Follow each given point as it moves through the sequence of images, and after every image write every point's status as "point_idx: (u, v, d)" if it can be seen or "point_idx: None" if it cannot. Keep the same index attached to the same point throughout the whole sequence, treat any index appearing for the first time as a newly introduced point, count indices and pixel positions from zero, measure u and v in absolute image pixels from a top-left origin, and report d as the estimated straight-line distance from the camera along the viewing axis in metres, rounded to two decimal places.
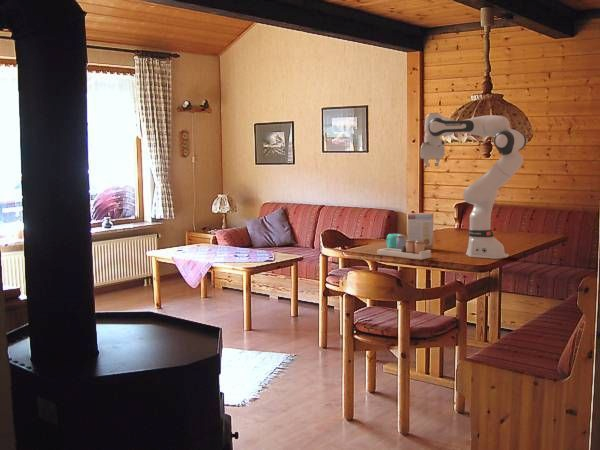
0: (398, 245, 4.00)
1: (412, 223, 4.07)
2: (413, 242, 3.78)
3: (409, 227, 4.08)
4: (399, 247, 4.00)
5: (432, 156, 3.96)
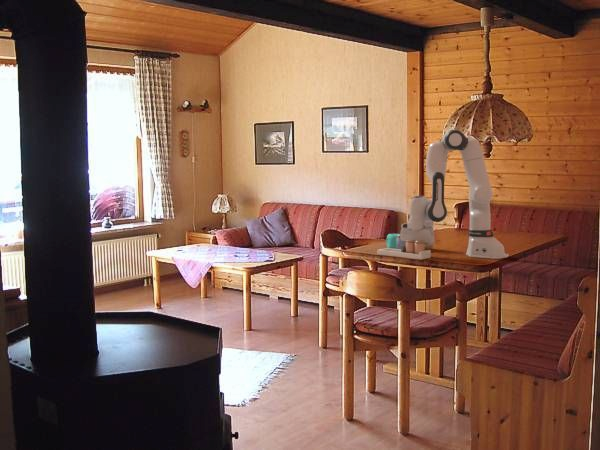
0: (398, 245, 4.00)
1: None
2: (413, 242, 3.78)
3: None
4: (399, 247, 4.00)
5: None
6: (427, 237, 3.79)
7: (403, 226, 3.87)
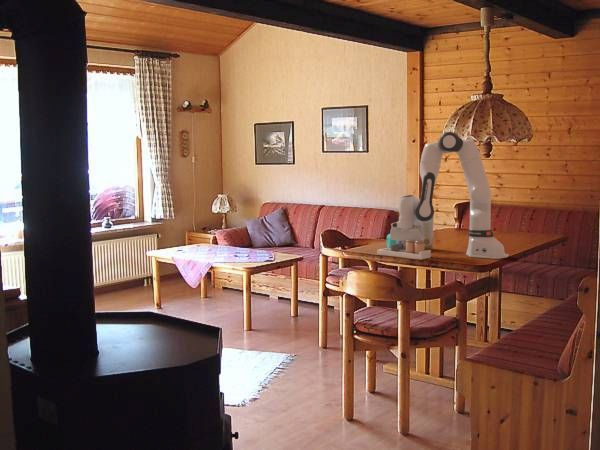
0: None
1: None
2: (413, 242, 3.78)
3: None
4: None
5: None
6: (416, 236, 3.83)
7: (393, 225, 3.91)
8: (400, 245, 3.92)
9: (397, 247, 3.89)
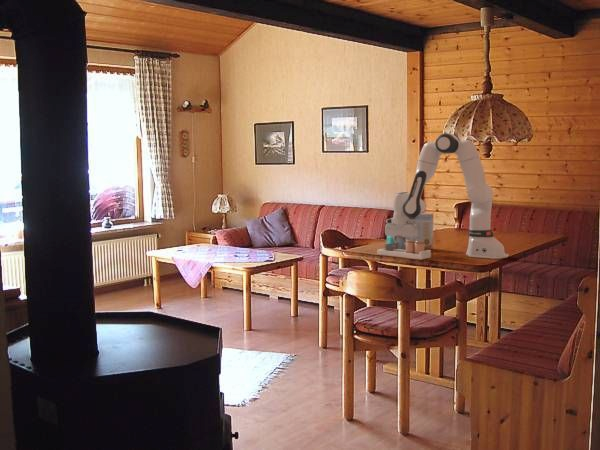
0: None
1: None
2: (413, 242, 3.78)
3: None
4: (399, 247, 4.00)
5: None
6: (410, 232, 3.95)
7: (387, 221, 4.03)
8: (394, 244, 3.95)
9: (391, 246, 3.92)
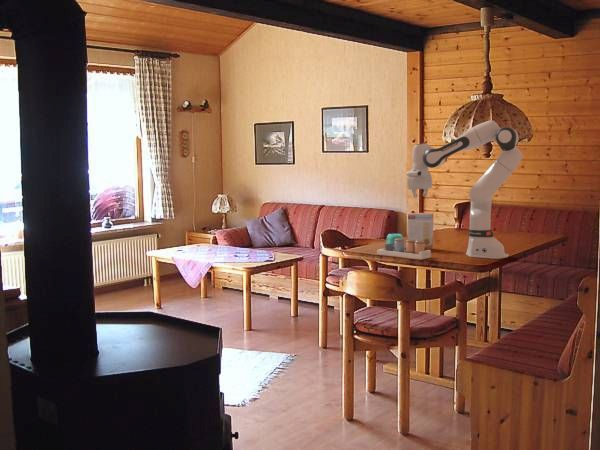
0: (403, 249, 3.84)
1: (412, 223, 4.07)
2: (413, 242, 3.78)
3: (409, 227, 4.08)
4: (403, 251, 3.85)
5: None
6: (430, 182, 3.98)
7: (418, 174, 3.86)
8: (394, 244, 3.95)
9: (391, 246, 3.92)
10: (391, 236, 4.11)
